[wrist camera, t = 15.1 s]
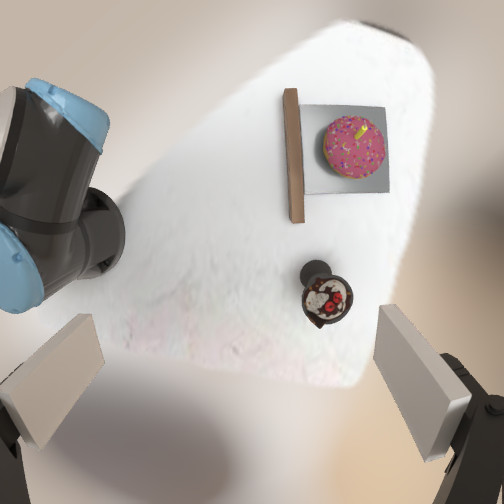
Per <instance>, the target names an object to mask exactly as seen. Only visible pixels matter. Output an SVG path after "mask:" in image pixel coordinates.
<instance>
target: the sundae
mask: <svg viewBox="0 0 504 504" xmlns="http://www.w3.org/2000/svg"><path fill="white" fill-rule="evenodd" d="M300 279H301V282H302V284H303V285H304V286H305V287H306V288H305V289H304V291H303V295H302V308H303V311H304V313H305V315H306V316H307V317H308V318H309V320H310V321H311V322H312V323H313V324H315V325H316V326H317V327H318V328H319V329H321V328H322V327H323V325H324V324H333V323H336V322H338V321H340V320H341V319H342V318H343V317H344V316H345V315H346V314H347V313H348V311H349V310H350V308H351V306H352V303H353V292H352V289H351V287H350V285H349V284H348V283H347V282H346V281H345V280H344V279H343V278H341V277H339V276H335V275H332V272H331V269H330V267H329V266H328V264H326V263H325V262H323V261H321V260H313V261H310V262H308V263H307V264H306V265H305V266H304V267H303V268H302V270H301V273H300Z"/></svg>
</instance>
